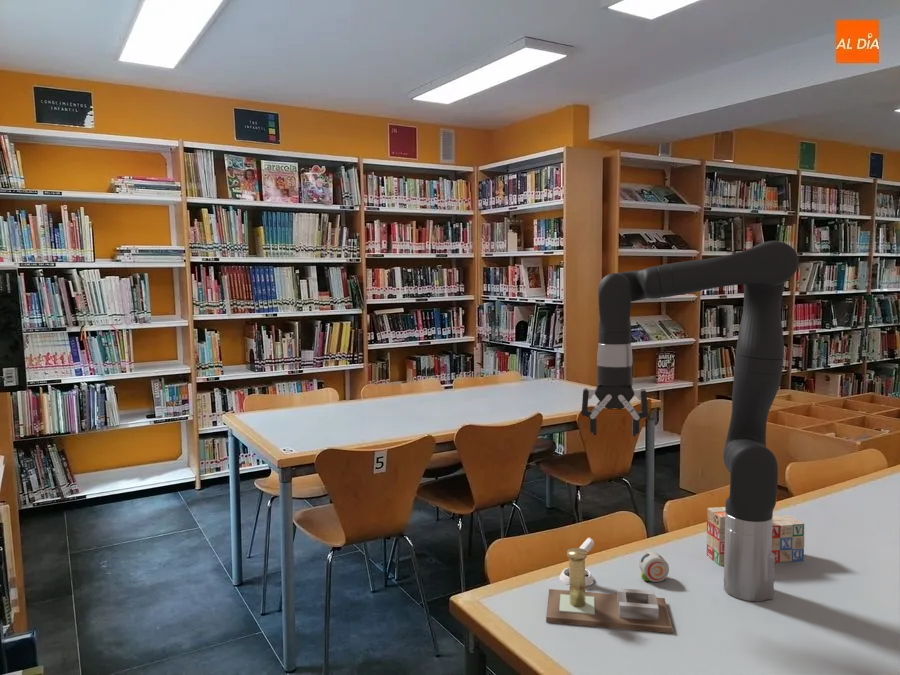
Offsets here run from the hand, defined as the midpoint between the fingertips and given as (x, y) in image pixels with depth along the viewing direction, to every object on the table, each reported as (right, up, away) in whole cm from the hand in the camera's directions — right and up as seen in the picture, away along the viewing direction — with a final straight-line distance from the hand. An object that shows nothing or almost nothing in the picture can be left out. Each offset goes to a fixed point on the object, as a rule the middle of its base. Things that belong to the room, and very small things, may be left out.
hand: (614, 435), depth 145 cm
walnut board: (-5, -34, -12) cm, 37 cm away
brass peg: (-10, -33, -11) cm, 36 cm away
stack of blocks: (+37, -32, +12) cm, 51 cm away
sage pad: (-11, -33, -11) cm, 37 cm away
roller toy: (+10, -33, +2) cm, 35 cm away
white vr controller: (-8, -34, +2) cm, 34 cm away
